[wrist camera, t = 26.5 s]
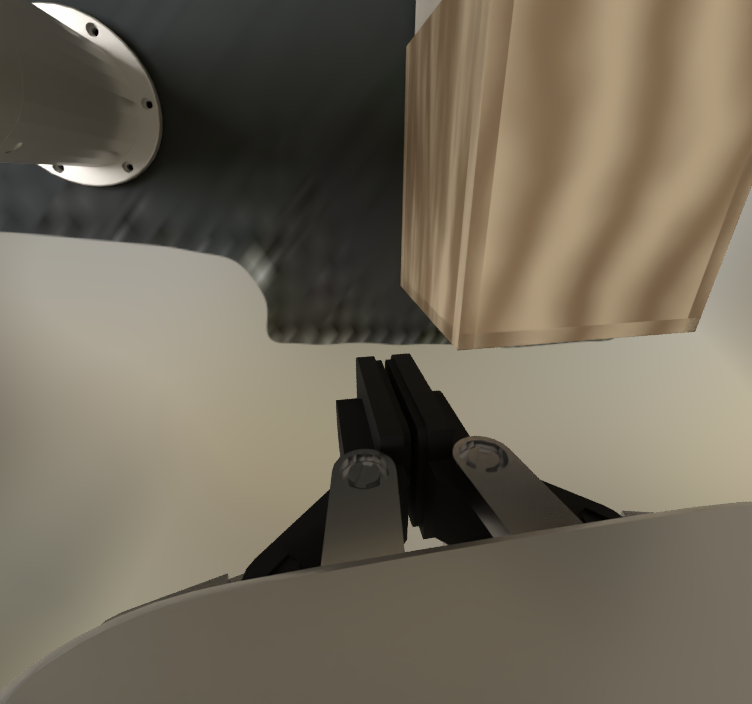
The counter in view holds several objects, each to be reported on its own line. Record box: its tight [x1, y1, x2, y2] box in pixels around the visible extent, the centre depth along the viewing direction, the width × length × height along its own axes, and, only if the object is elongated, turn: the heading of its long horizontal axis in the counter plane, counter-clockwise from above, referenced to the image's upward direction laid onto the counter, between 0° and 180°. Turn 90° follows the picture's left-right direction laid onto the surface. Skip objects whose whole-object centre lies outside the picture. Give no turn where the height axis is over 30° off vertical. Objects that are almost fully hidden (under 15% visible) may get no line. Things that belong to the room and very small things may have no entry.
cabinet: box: [401, 0, 752, 350], centre depth 32 cm, size 20×22×18 cm
